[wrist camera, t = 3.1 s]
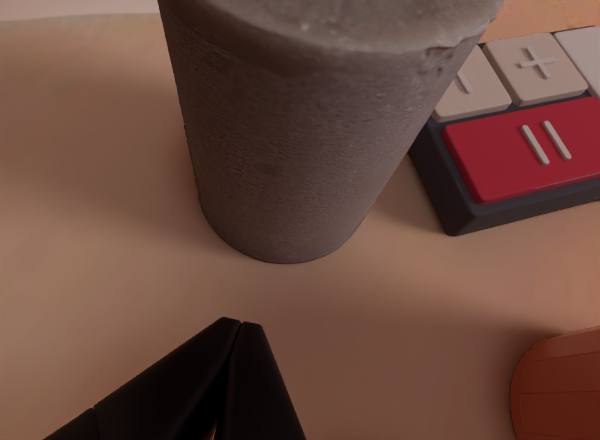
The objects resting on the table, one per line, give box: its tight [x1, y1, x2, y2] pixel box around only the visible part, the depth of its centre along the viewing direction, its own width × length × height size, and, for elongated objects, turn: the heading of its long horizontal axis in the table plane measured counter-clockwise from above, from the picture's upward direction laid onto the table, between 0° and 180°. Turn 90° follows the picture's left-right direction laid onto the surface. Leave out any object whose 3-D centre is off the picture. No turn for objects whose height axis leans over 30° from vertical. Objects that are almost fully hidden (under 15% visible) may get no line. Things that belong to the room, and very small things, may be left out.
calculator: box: [408, 26, 600, 236], centre depth 24 cm, size 11×4×15 cm
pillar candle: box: [157, 0, 505, 264], centre depth 15 cm, size 10×10×15 cm
